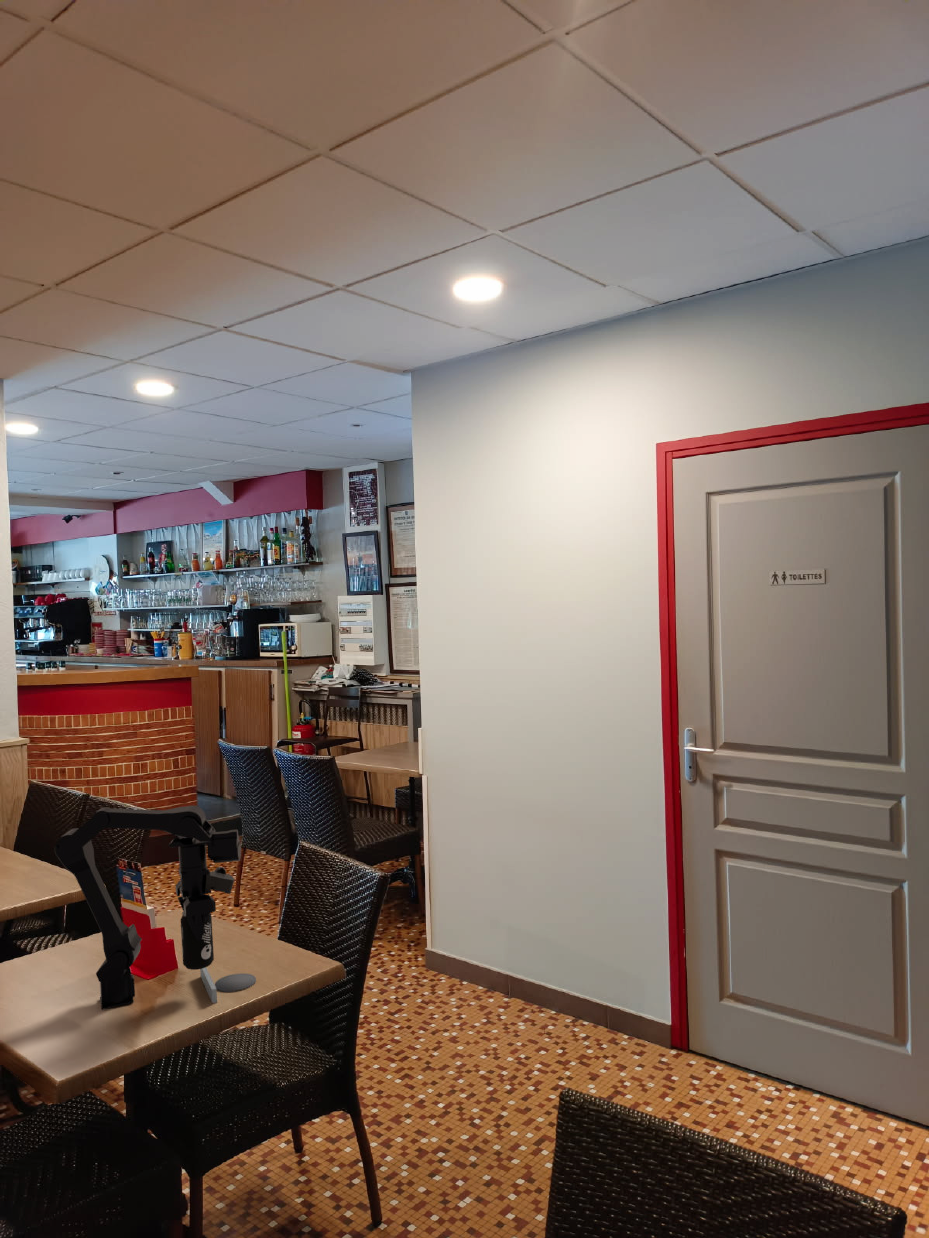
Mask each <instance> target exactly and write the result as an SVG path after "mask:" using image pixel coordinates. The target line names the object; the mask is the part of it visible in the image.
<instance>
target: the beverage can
mask: <svg viewBox="0 0 929 1238" xmlns="http://www.w3.org/2000/svg"><path fill="white" fill-rule="evenodd" d="M181 914H182V915H181V918H180V938H181V952H182V954H181V955H182V964H183V966H184V967H185V968H186V969H187V970H192V971H196V970H200V969H202V968H205V967H206V968H208V967H209V966H210V965H212V963H213V961H214V959H215V955H214V939H213V938H214V936H213V922H212V921H213V919H212V917H213V916H212V914H211V913H210V914H209V915H208V916H207V917H206V921H205V926H204V931H203V936H202V939H201V940H197V939H196V937H195V935H194V933H193V931H192V929H191V927H190V925H189V922H188V920H187V918H186V916H185V914H184V911H183V910H182V913H181Z"/></svg>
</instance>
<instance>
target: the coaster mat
mask: <svg viewBox="0 0 929 1238" xmlns="http://www.w3.org/2000/svg"><path fill="white" fill-rule="evenodd" d="M256 982H257V977H256V976H255V975H254V974H250V973H243V972H242V973H241V972H239V973H234V974H228V975H225V976H223V977H220V978H219V979H218V980H216V981H215V982H214V984H215V986H216V989H217V991H219V992H224V993H234V992H233V991H235V992H240V991H239V990H241V991H243V990H242V989H244V990H247V989H249V988H251V987H252V985H253V986H254V985H255V984H256ZM250 986H251V987H250ZM246 988H247V989H246Z"/></svg>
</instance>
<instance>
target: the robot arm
mask: <svg viewBox="0 0 929 1238" xmlns="http://www.w3.org/2000/svg"><path fill="white" fill-rule="evenodd" d="M104 829H117V830H118V829H120V830H121V829H123V830H125V829H126V830H144V831H145V830H146V831H147V830H150V831H151V830H152V831H162V832H165V833H167V834H170V835H174V836H175V837H174V838H173V839H172V840H171V841H170V843H169V844H168V847H169V848H178V861H179V868H178V874H179V878H180V880H179V881H177V883H176V884H175V894H176V897H178V898H177V901H178V903H179V904H180V907H181V909H182V912H183V911H184V914H185V916H186V918H187V920H188V922H189V925H190V927H191V929H192V931H193V933H194V935H195V937H196V939H197V940H201V939H202V936H203V931H204V926H205V921H206V917H207V916H208V915H209V914H211V913H214V912H216V910H217V906H216V904H217V903H216V901H215V899H214V897H212V896H211V895H210V894H212V891H216V892H222V893H224V894H227V895H230V894H231V893H232V889H233V888H234V887H233V886H234V883H235V878H234V877H233V875H231V874H230V873H227V871H226V868H225V867H221V866H217V867H216V868H215V870H212V871H210V869H208V865H207V858H208V859H209V860H210V862H213V864H219V863H221V864H222V863H231V862H240V861H241V857H242V843H241V841H240V836H239V830H238V829H230V830H226V831H224V830H223V831H216V829H215V828H214V826H213V825H212V823H210V821H208V820H207V818H206V814H205V811H204V810H203V809H202V808H201V807H200V806H198V805H188V806H187V805H185V806H179V807H175V808H169V809H165V810H164V809H163V810H160V809H159V810H158V809H135V808H131V809H129V808H111V807H108V806H106V807H101V808H99V809H98V810H97V811H95V813H94V814H93V815H92V817H91V818H89V819H88V820H87V821H86V822H85V823H84V824H82V825H81V826H80V827H78V828H77V827H76V828H75V827H74V828H71V829H70V830H68V831H67V832H66V833H65V834H63V835H61V837H60V838H58V839H57V841H56V842H55V845H54V850H53V851H54V853H55V856H56V857H57V859H58V860H59V861H60V863H61V864H62V865H63V867H64V868H65V869H67V871H68V872H70V873H71V874H72V875H73V876H74V877H75V880H77V884H78V886H79V888H80V890H81V891H82V894H83V896H84V898H85V900H86V903H87V905H88V906H89V909H90V911H91V913H92V916H93V918H94V920H95V921H96V924H97V926H98V928H99V930H100V932H101V935H102V946H103V947H102V949H103V953H104V957H105V959H104V961H103V962H102V964H101V965H100V967H99V968H98V969H97V971H96V973H95V974H96V978H97V980H98V982H99V986H100V987H99V988H100V991H99V992H100V997H99V1000H100V1002H99V1003H100V1007H101V1010H107V1009H112V1008H116V1007H121V1006H125V1005H129V1004H133V1003H134V1002H135V1001H134V998H135V997H136V989H135V988H136V987H135V977H134V974H132V970H131V967H132V965H133V964H134V962H135V961H136V958H137V957H138V956H139V954H140V951H141V947H142V946H141V945H142V944H141V941H142V940H143V938H141V936H140V935H139V934H138V932H137V928H136V926H135V924H134V923H132V924H131V925H130V926H127V925H126V924H125V923H124V922H123V921H122V919H121V917H120V915H119V913H118V911H117V909H116V906H115V904H114V903H113V900H112V898H111V896H110V893H109V891H108V889H107V887H106V885H105V882H104V881H103V879H102V877H101V875H100V873H99V871H98V868H97V866H96V861H95V850H94V845H93V842H92V840H93V839H94V838H95V837H96V836H97V835H98V834H99V833H100V832H102V830H104ZM206 846H207V847H206Z"/></svg>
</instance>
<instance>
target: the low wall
mask: <svg viewBox="0 0 929 1238" xmlns="http://www.w3.org/2000/svg"><path fill="white" fill-rule="evenodd" d="M199 970H200V972H199V973H200V978H201V981H202V982H203V986H204V985H205V986H204V987H205V990H206V993H207V995H208V997H209V998H210V1001H211V1003H212V1004H217V1003H218V994H217V991H218V990H217V989H216V986H215V982H214V981H213V978H212V976H211V974H210V972H209V970H208V967H205V968H202V969H199Z"/></svg>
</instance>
